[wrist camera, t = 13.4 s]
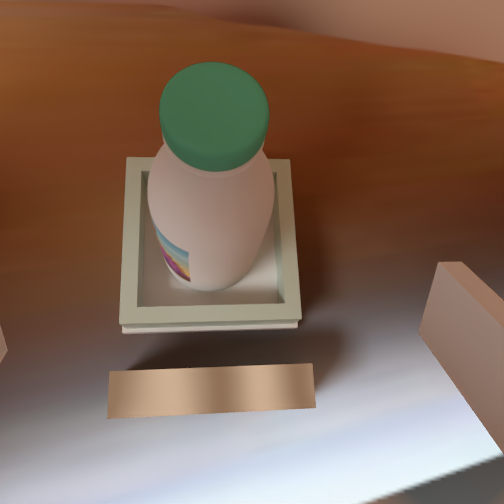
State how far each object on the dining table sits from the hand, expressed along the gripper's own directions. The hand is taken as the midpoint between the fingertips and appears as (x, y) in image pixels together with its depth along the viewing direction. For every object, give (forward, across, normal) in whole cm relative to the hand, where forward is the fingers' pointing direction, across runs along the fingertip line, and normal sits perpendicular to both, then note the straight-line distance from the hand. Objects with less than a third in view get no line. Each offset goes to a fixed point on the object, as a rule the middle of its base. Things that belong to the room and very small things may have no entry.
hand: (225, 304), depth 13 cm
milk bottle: (+22, 0, -10) cm, 24 cm away
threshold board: (+14, 0, -18) cm, 23 cm away
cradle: (+23, 0, -10) cm, 25 cm away
